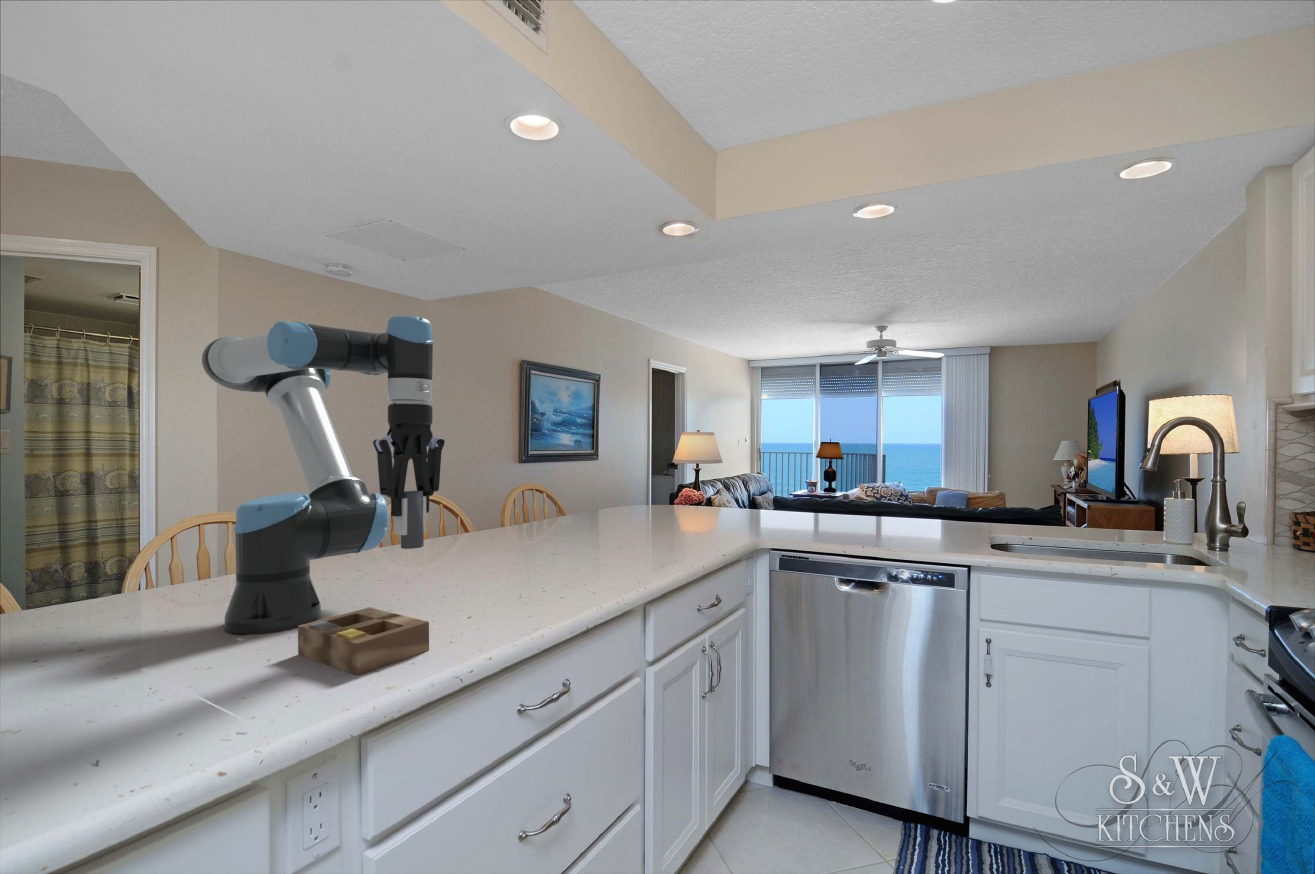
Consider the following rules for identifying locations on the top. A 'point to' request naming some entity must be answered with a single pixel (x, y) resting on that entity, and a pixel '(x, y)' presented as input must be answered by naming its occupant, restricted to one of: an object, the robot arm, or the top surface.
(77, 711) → the top surface
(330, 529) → the robot arm
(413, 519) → the plug
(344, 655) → the socket board
